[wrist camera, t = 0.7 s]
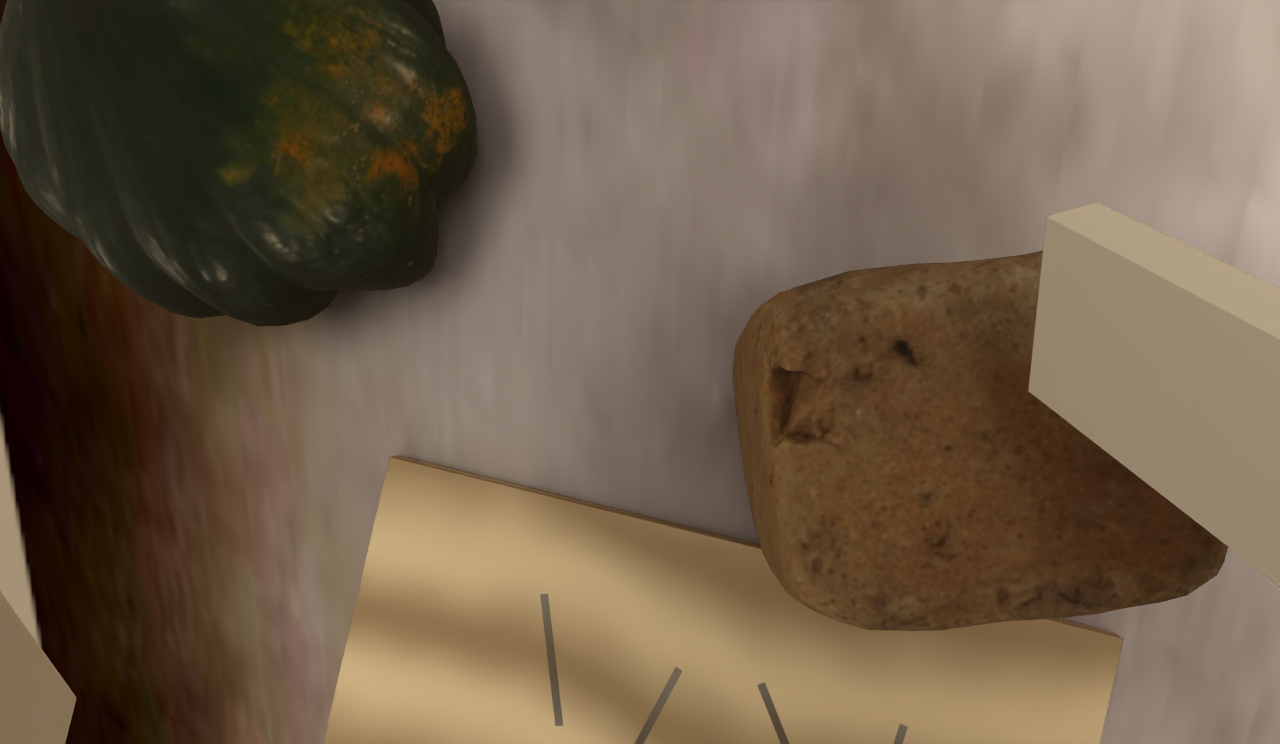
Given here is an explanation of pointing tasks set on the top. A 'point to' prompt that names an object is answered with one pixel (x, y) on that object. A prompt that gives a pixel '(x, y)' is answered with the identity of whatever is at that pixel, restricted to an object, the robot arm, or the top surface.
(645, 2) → the top surface
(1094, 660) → the board
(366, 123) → the squash
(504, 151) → the top surface
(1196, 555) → the block
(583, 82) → the top surface
